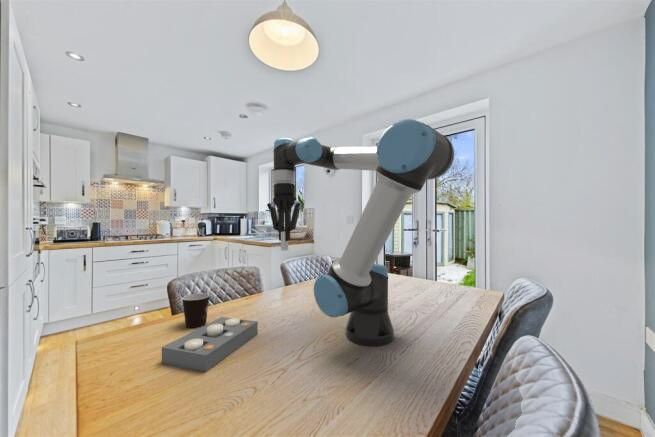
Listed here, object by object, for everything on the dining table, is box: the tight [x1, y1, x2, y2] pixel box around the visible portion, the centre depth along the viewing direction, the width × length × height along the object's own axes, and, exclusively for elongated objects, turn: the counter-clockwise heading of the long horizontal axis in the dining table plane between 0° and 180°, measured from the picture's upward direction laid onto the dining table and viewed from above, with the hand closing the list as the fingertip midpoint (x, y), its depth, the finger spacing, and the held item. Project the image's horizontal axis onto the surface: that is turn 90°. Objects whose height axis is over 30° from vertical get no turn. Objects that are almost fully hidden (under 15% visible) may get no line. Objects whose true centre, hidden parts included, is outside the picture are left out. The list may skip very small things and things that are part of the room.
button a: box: [225, 317, 241, 327], centre depth 86 cm, size 4×4×2 cm
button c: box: [184, 339, 203, 351], centre depth 71 cm, size 4×4×2 cm
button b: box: [207, 324, 223, 337], centre depth 78 cm, size 4×4×2 cm
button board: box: [161, 316, 259, 372], centre depth 78 cm, size 14×23×4 cm, turn 163°
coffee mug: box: [181, 292, 210, 330], centre depth 96 cm, size 12×9×10 cm
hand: (284, 250), depth 95 cm, fingers closed
